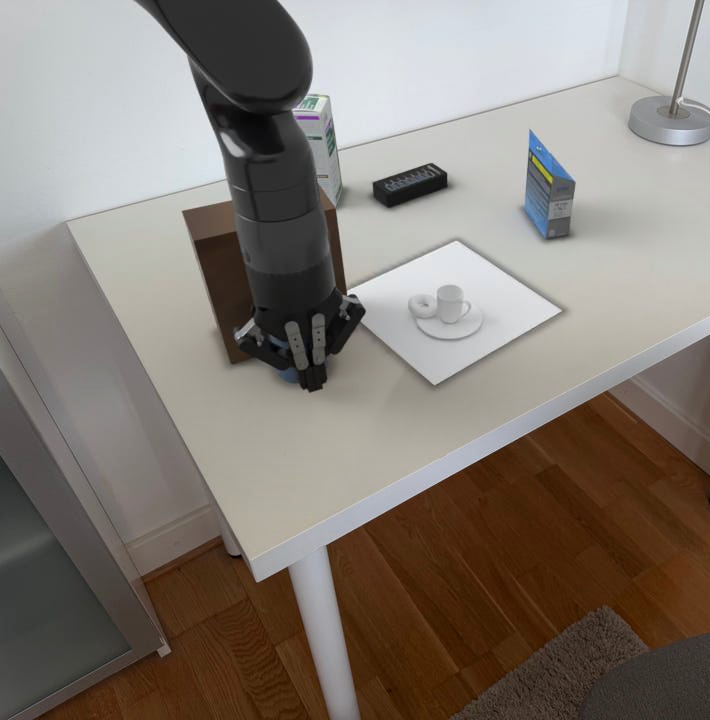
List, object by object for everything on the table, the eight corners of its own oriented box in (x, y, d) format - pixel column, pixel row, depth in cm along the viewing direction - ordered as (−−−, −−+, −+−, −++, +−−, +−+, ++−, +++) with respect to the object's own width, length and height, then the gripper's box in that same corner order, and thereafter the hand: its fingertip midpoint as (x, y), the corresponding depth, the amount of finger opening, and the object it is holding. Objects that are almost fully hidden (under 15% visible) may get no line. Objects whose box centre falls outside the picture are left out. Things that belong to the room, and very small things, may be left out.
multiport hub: (372, 196, 103) (371, 182, 101) (432, 175, 108) (431, 161, 106) (388, 208, 100) (387, 194, 99) (448, 186, 105) (448, 173, 104)
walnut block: (230, 364, 75) (193, 240, 65) (218, 332, 79) (181, 210, 68) (351, 328, 80) (336, 208, 70) (335, 300, 84) (317, 181, 73)
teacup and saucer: (398, 313, 83) (396, 286, 80) (449, 288, 87) (449, 261, 84) (444, 351, 78) (444, 323, 75) (496, 322, 82) (498, 295, 79)
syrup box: (336, 208, 100) (323, 111, 90) (296, 207, 100) (278, 109, 90) (343, 189, 104) (331, 93, 94) (304, 187, 104) (288, 92, 94)
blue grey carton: (570, 236, 96) (581, 153, 88) (544, 240, 95) (553, 157, 87) (546, 204, 102) (554, 124, 94) (522, 208, 101) (528, 127, 93)
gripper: (343, 209, 65) (360, 346, 77) (199, 242, 60) (240, 383, 72) (373, 249, 60) (386, 389, 72) (218, 289, 55) (259, 432, 67)
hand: (313, 386), depth 72 cm, fingers closed
